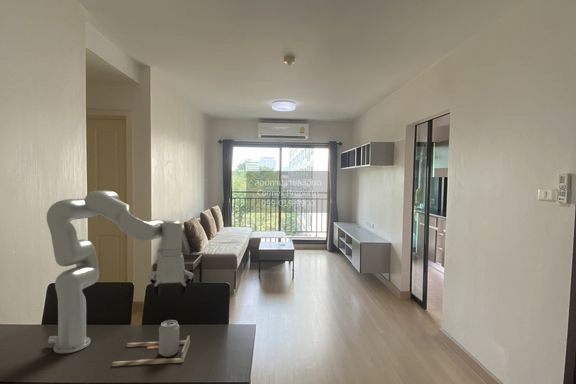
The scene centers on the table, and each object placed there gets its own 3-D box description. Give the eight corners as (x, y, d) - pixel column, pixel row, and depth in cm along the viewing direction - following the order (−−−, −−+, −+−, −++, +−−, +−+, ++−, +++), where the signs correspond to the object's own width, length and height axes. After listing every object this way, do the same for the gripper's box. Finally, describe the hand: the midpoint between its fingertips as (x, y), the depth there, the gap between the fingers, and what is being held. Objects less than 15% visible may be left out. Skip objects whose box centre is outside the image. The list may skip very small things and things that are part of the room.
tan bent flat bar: (112, 366, 118) (112, 356, 118) (127, 345, 133) (127, 337, 133) (183, 362, 121) (183, 353, 121) (190, 343, 136) (190, 334, 136)
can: (181, 348, 132) (182, 319, 131) (174, 358, 124) (174, 327, 124) (163, 347, 132) (163, 318, 132) (155, 357, 124) (155, 326, 124)
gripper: (145, 254, 123) (144, 299, 124) (192, 254, 125) (191, 298, 126) (151, 250, 131) (151, 292, 131) (195, 250, 133) (194, 292, 133)
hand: (170, 295), depth 129 cm, fingers open, 9 cm apart
